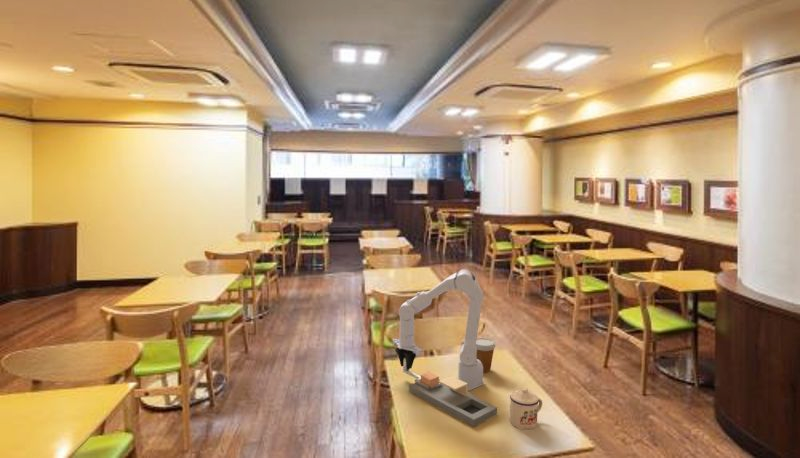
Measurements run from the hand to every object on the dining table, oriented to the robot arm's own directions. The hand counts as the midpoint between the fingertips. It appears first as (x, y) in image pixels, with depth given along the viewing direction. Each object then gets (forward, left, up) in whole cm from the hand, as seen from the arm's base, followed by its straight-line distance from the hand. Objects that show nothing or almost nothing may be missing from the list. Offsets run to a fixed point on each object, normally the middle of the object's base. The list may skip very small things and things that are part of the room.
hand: (406, 367), depth 186 cm
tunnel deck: (0, +24, -5) cm, 24 cm away
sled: (0, +8, -2) cm, 8 cm away
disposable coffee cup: (-30, +14, -5) cm, 33 cm away
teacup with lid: (-10, +49, -5) cm, 50 cm away
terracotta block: (0, +13, -2) cm, 13 cm away
